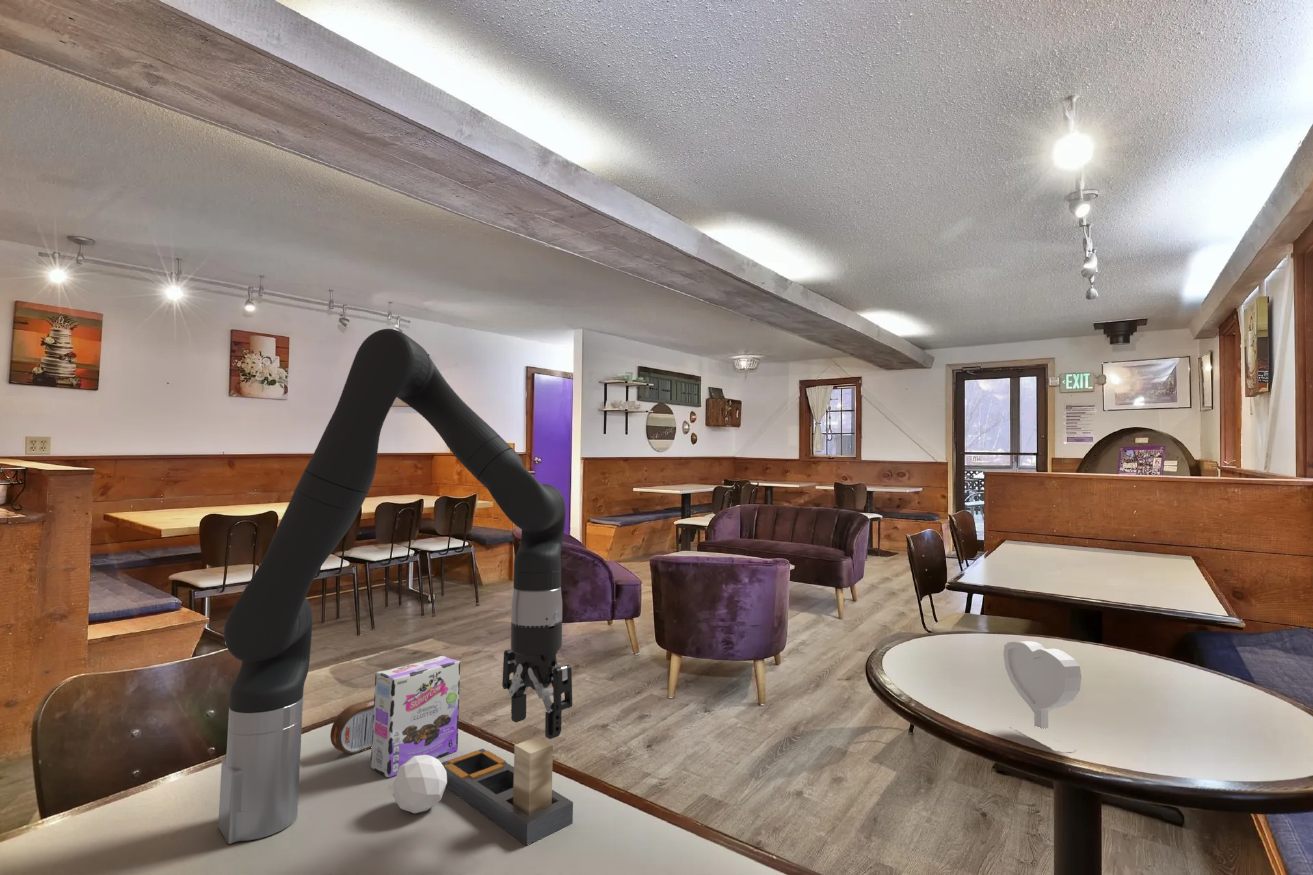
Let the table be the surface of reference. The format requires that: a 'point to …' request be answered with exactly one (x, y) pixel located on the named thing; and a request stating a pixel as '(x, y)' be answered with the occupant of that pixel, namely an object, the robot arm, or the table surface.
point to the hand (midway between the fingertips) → (535, 728)
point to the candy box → (415, 713)
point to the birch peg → (532, 775)
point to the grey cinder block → (503, 796)
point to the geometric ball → (419, 783)
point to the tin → (354, 728)
